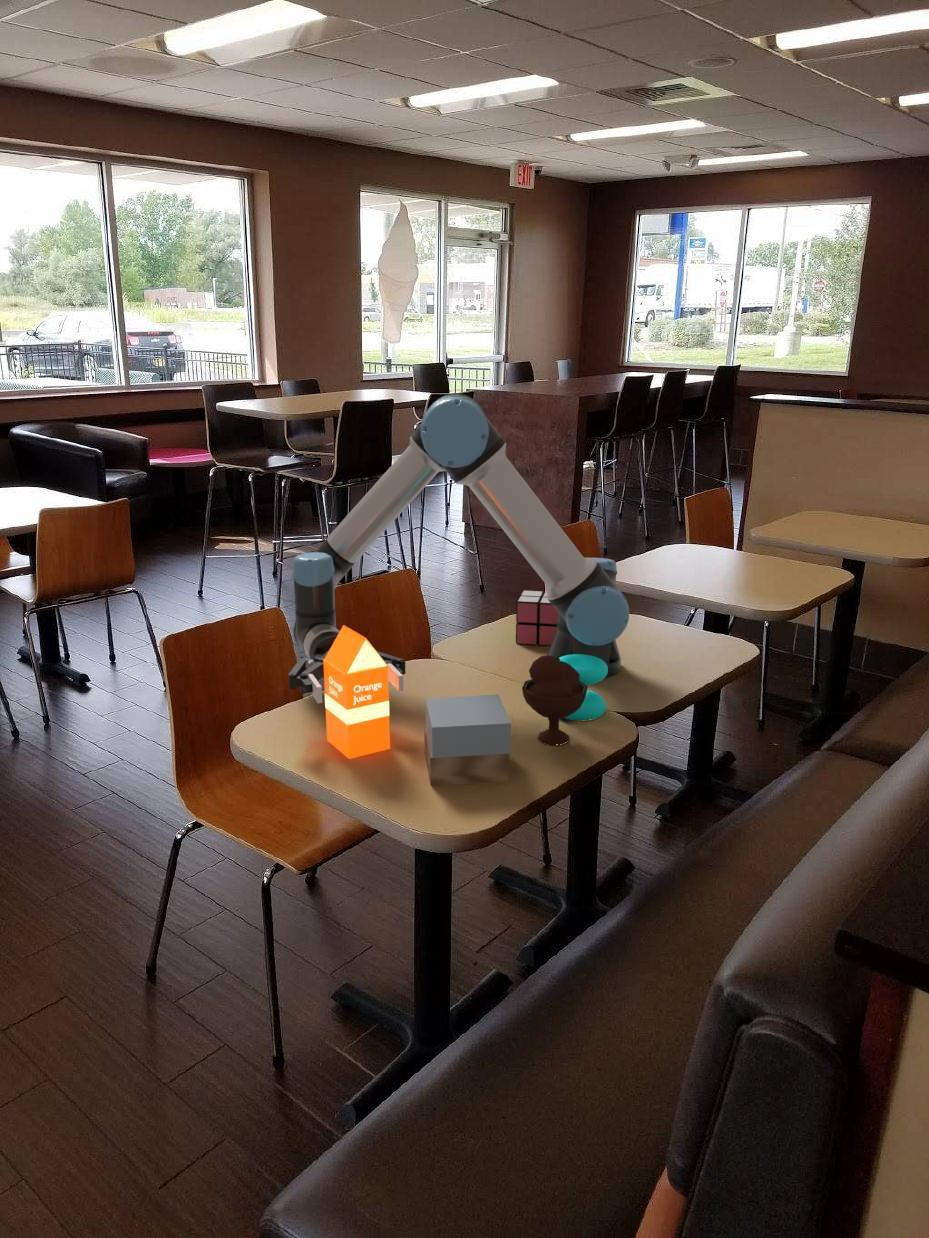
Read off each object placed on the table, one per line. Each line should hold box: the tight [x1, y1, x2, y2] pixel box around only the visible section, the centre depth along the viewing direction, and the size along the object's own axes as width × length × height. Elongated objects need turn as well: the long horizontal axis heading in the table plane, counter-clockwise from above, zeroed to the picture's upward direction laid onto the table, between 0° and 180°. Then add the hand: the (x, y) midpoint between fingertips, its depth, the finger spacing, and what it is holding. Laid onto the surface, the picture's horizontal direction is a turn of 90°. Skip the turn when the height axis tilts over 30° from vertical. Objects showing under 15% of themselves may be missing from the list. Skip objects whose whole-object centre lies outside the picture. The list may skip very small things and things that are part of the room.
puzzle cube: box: [515, 590, 557, 647], centre depth 210 cm, size 10×10×10 cm
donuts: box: [559, 654, 608, 721], centre depth 168 cm, size 10×10×10 cm
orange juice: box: [323, 624, 391, 760], centre depth 154 cm, size 8×9×20 cm
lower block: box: [423, 725, 510, 786], centre depth 148 cm, size 12×12×5 cm
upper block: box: [424, 694, 512, 758], centre depth 146 cm, size 12×12×5 cm
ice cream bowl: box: [521, 654, 589, 746], centre depth 156 cm, size 11×11×15 cm
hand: (361, 689), depth 150 cm, fingers open, 13 cm apart
